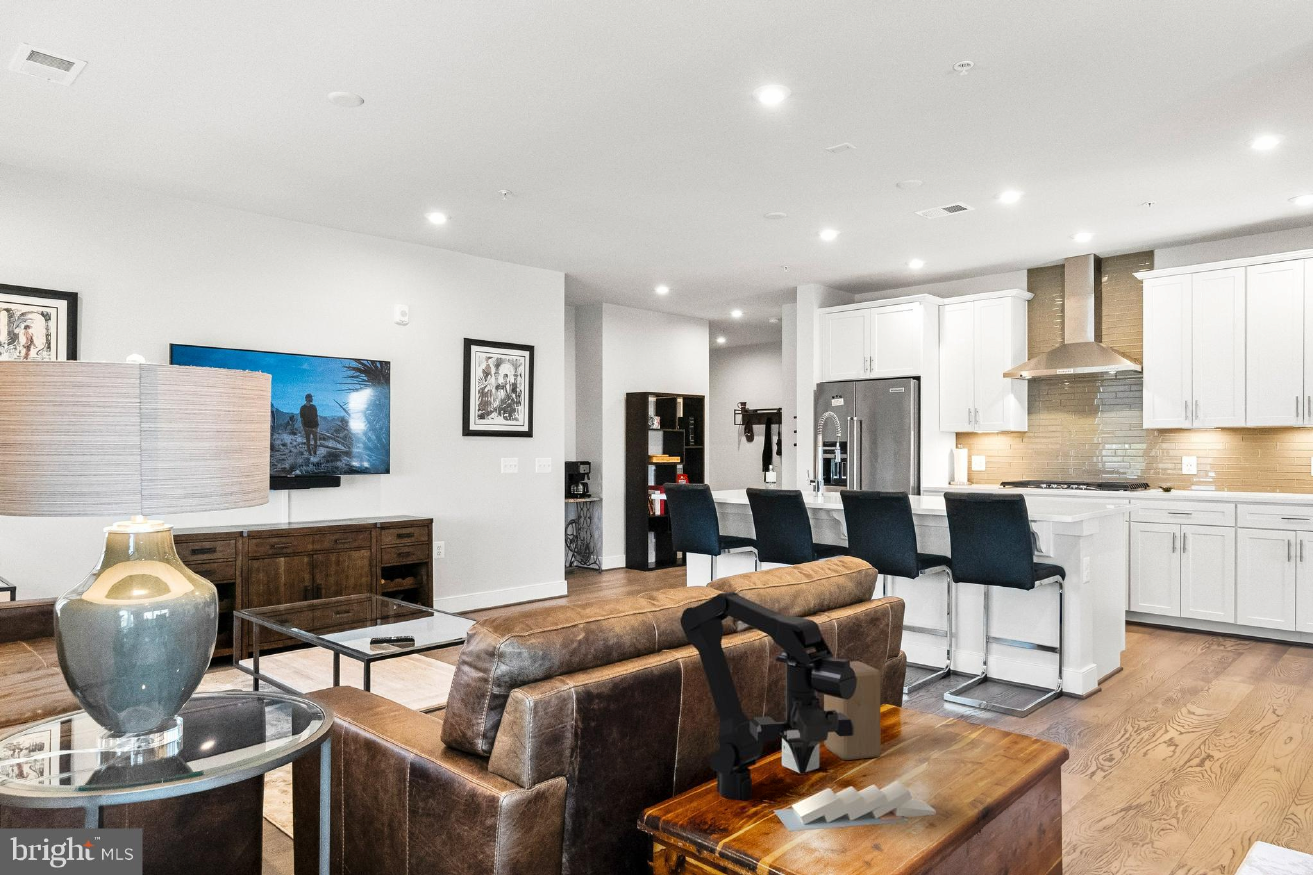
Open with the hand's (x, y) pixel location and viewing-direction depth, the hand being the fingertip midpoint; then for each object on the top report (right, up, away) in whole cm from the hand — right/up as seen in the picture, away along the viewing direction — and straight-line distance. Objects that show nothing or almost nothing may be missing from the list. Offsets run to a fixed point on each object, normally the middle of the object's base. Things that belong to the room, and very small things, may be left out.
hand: (801, 772), depth 153 cm
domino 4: (+13, -8, +2) cm, 15 cm away
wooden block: (+18, -11, +38) cm, 43 cm away
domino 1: (-1, -8, 0) cm, 8 cm away
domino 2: (+4, -8, +1) cm, 9 cm away
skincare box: (+5, -11, +29) cm, 31 cm away
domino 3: (+8, -8, +1) cm, 11 cm away
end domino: (+17, -8, +3) cm, 19 cm away
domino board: (+7, -10, +1) cm, 12 cm away
